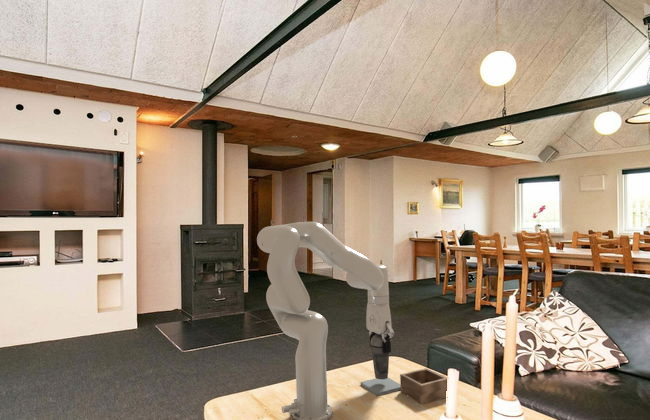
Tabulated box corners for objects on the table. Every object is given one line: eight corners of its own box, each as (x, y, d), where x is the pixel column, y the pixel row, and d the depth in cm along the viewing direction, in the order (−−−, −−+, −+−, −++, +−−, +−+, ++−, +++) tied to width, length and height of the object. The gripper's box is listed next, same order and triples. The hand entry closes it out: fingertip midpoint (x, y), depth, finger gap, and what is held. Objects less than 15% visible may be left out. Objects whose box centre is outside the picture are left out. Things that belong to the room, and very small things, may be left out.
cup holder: (422, 404, 131) (421, 385, 131) (400, 391, 141) (400, 374, 141) (449, 396, 136) (448, 378, 136) (426, 385, 146) (426, 368, 146)
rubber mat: (377, 395, 138) (377, 392, 138) (360, 384, 148) (360, 382, 148) (403, 389, 143) (403, 386, 143) (385, 378, 153) (385, 376, 153)
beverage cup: (391, 381, 141) (389, 323, 142) (370, 380, 143) (368, 323, 144) (392, 373, 149) (390, 318, 149) (372, 372, 150) (370, 318, 151)
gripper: (357, 297, 153) (358, 345, 152) (383, 305, 137) (385, 358, 137) (374, 295, 156) (375, 341, 155) (401, 302, 140) (403, 354, 140)
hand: (380, 349), depth 146 cm, fingers closed on beverage cup, 7 cm apart
